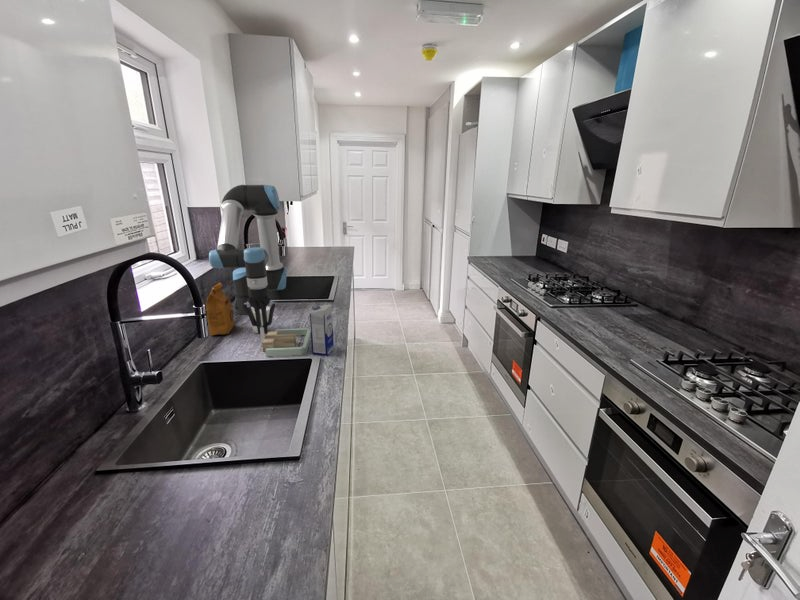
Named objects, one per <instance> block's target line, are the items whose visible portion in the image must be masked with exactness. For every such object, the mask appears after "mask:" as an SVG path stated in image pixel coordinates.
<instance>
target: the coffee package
mask: <svg viewBox="0 0 800 600" xmlns="http://www.w3.org/2000/svg"><path fill="white" fill-rule="evenodd" d="M223 286H224V284H223V283H221V282H218V283H217V284H215V285H214V286H212V287H211V291H210V293H209V294H208V296H207V298H206V301H205V312H206V311H207V315H206V320H207V324H208V331H209V336H212V337H213V336H217V335H227V334H230V332H231V331H232V329H233V328H234V326H235V319H234V314H233V313H234V309H233V305H232V302H231V300H230V299H229V297H228V296H227V295H226V294H225V293H224V291H223V289H222V287H223Z"/></svg>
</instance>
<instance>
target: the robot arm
mask: <svg viewBox="0 0 800 600" xmlns="http://www.w3.org/2000/svg"><path fill="white" fill-rule="evenodd" d="M220 209H221V211H222V215H221V220H220V226H219V227H220V228H219V235H218V240H217V241H218V242H217V248H216V249H211V250H210V251H209V253H208V259H209V264H210V266H211V267H212V268H213V269H234V270H233V271H232V281H233V288H234V295H235V299H234V302H233V313H234V314H236V313H237V315H243V316H244V315H246V316H248V318H249V321H250V323H251V327H252V326H256V327H257V329H258V333H257V334H258V335H260V340H261V341H260V342H261V343H262V342H263V341H264V339H265V337H266V335H267V334H268V332H269V326H271V325H272V323H273V318H274V312H275V307H276V305H277V302H276V301H273V300H271V298H270V294H269V291H281V290H284V289H286V286H287V268H286V267H284V264H283V263H282V262H281V261H280V251H279V242H278V234H277V224H276V222H277V221H276V217H277V215H278V212H279V211H280V210H281V203H280V197H279V193H278V191H277V188H276V187H275V186H274V185H271V184H270V185H268V184H239V185H236V186H233V187H232V188H230V190H228V191H227V192H226V193H225V195H224V196H223V198H222V200H221V205H220ZM245 211H252V212H251V213H252V215H253V216H254V217H255V218H256V223H257V225H256V226H257V231H258V238H259V247H247V248H245V249H244V248H243V249H238V245H239V236H240V235H239V234H240V229H241V228H240V226H241V219H242V215H243V214H244V212H245ZM268 305H269V307H270V311H269V319H268V322H267V313H266V307H267V306H268ZM251 307H253V308H254V310H255V315H256V320H255V317H254V315H253V312H252V309H251ZM260 309H261V312H262V319H263V325H261V324H262V323H261V317H260Z"/></svg>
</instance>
